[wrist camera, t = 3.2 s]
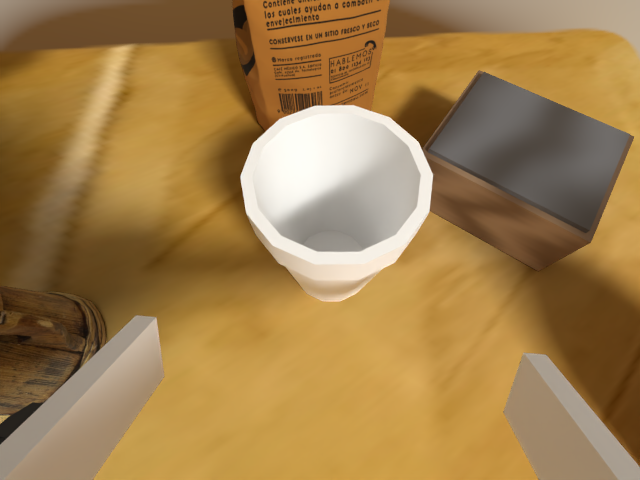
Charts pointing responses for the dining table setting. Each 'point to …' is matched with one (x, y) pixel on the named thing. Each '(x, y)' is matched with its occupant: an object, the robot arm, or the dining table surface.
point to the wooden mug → (43, 343)
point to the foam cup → (336, 195)
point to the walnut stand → (523, 170)
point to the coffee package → (309, 53)
